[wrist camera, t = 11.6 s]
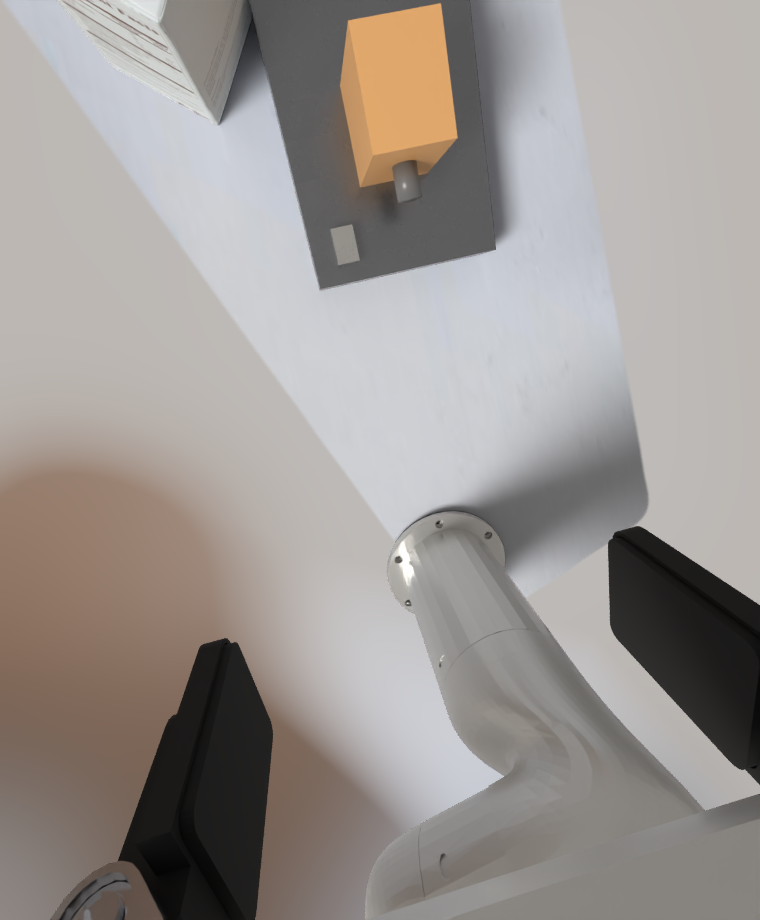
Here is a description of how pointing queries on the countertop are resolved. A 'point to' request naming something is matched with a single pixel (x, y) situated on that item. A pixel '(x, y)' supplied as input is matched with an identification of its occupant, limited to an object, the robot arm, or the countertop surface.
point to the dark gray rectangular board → (332, 159)
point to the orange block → (398, 97)
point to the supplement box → (170, 45)
